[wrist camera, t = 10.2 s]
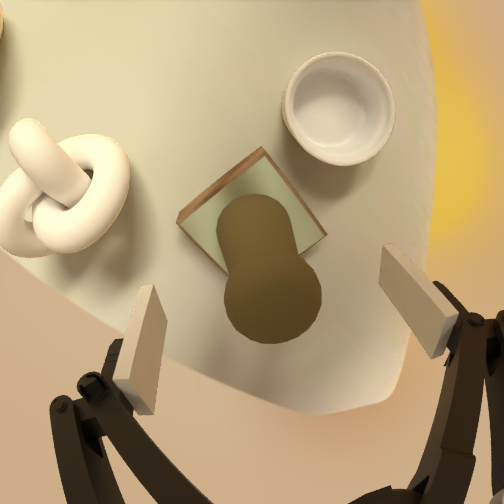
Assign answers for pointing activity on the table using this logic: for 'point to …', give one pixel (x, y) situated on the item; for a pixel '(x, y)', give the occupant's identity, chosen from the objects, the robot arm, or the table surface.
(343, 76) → the ramekin
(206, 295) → the table surface
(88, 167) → the white decorative knot
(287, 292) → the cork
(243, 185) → the stand
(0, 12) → the lidded jar
